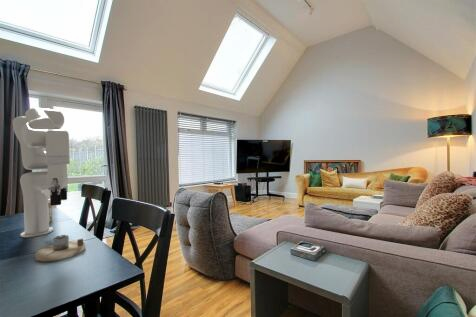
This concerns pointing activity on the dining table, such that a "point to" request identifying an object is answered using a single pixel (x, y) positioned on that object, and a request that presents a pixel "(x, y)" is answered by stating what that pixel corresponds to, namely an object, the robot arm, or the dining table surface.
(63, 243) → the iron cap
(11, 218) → the dining table surface
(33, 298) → the dining table surface
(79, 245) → the turntable
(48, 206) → the sprinkles bottle
